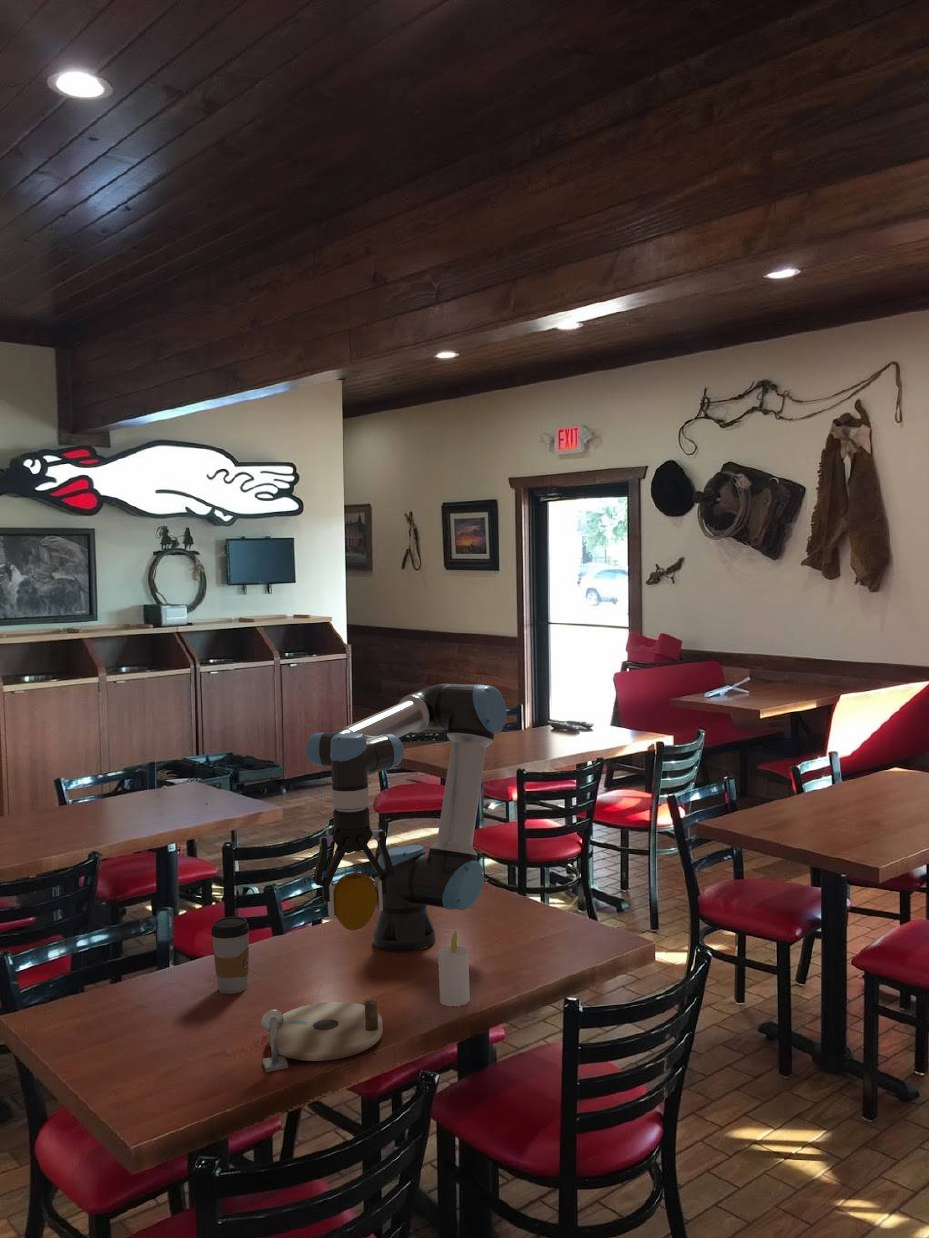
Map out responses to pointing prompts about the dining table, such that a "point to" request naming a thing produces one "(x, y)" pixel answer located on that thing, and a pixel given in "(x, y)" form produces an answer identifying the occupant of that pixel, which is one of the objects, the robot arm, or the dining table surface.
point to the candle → (454, 974)
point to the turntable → (329, 1030)
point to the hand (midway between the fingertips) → (355, 912)
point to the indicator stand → (273, 1040)
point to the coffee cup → (231, 953)
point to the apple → (354, 900)
